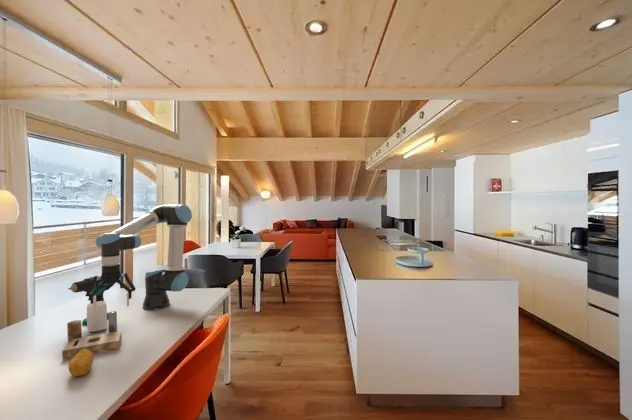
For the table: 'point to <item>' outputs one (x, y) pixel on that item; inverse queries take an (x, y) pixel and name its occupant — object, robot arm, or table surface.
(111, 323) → the grey metal peg
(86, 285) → the power drill
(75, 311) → the table surface
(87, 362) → the potato
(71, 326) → the walnut dowel
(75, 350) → the socket block
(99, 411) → the table surface
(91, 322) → the cup
